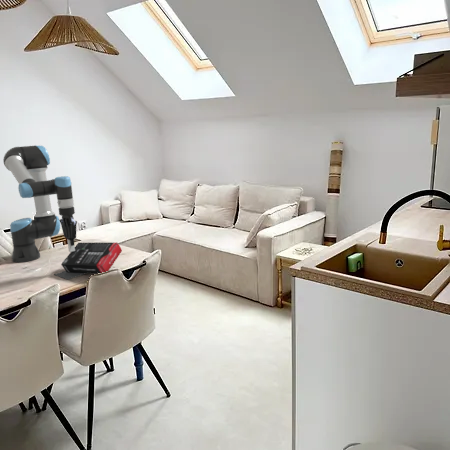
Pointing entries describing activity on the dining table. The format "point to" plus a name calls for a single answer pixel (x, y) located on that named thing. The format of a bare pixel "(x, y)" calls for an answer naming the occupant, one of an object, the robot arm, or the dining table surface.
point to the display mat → (69, 275)
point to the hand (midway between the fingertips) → (72, 251)
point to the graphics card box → (91, 258)
